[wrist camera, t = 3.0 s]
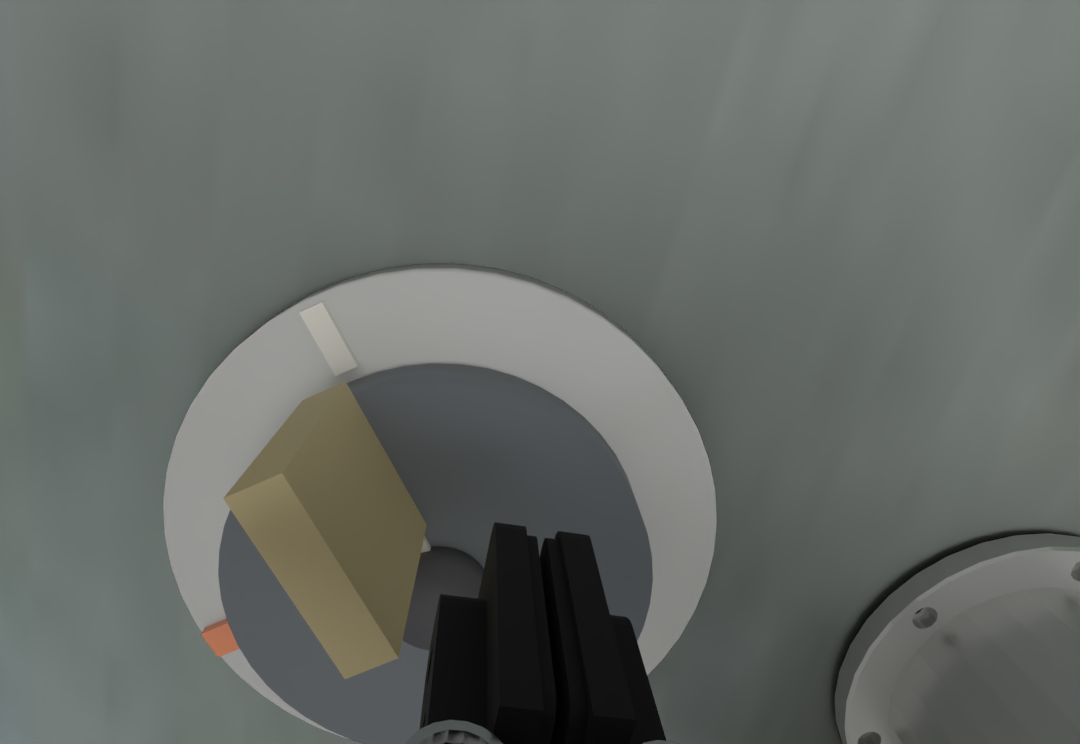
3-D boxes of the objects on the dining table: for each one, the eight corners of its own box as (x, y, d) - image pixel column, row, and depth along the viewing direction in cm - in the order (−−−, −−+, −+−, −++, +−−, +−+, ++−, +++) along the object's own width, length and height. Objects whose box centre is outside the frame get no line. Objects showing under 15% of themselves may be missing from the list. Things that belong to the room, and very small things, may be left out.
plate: (806, 490, 23) (831, 518, 21) (482, 789, 26) (480, 834, 25) (405, 136, 19) (395, 135, 17) (84, 547, 22) (48, 580, 20)
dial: (692, 625, 22) (772, 830, 15) (364, 751, 23) (307, 994, 16) (540, 278, 18) (559, 353, 12) (155, 448, 19) (-31, 606, 13)
